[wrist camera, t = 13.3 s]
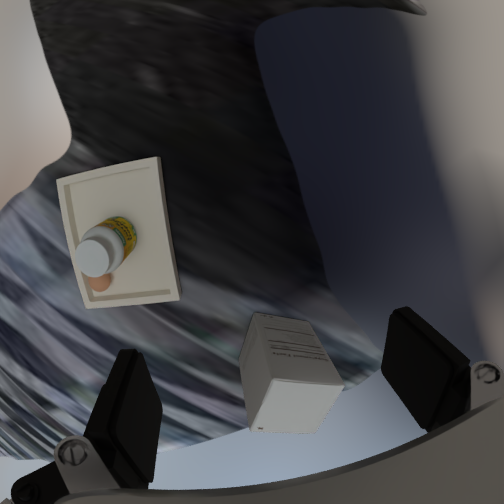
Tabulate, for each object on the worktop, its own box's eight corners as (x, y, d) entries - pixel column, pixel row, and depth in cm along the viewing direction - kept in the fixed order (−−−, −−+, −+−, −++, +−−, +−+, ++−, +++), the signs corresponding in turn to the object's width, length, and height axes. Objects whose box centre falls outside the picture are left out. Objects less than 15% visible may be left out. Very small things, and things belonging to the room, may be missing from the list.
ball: (90, 265, 35) (81, 274, 32) (110, 263, 36) (102, 271, 33) (96, 287, 36) (88, 296, 33) (116, 285, 37) (109, 294, 34)
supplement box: (290, 366, 45) (315, 435, 31) (237, 359, 43) (247, 433, 29) (310, 320, 43) (348, 385, 28) (253, 309, 41) (272, 379, 27)
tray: (65, 178, 32) (56, 179, 30) (160, 157, 33) (156, 156, 31) (92, 301, 38) (86, 308, 35) (181, 292, 39) (179, 300, 36)
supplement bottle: (94, 239, 34) (61, 263, 25) (113, 206, 34) (82, 221, 24) (125, 263, 36) (100, 293, 27) (146, 231, 35) (124, 253, 26)
